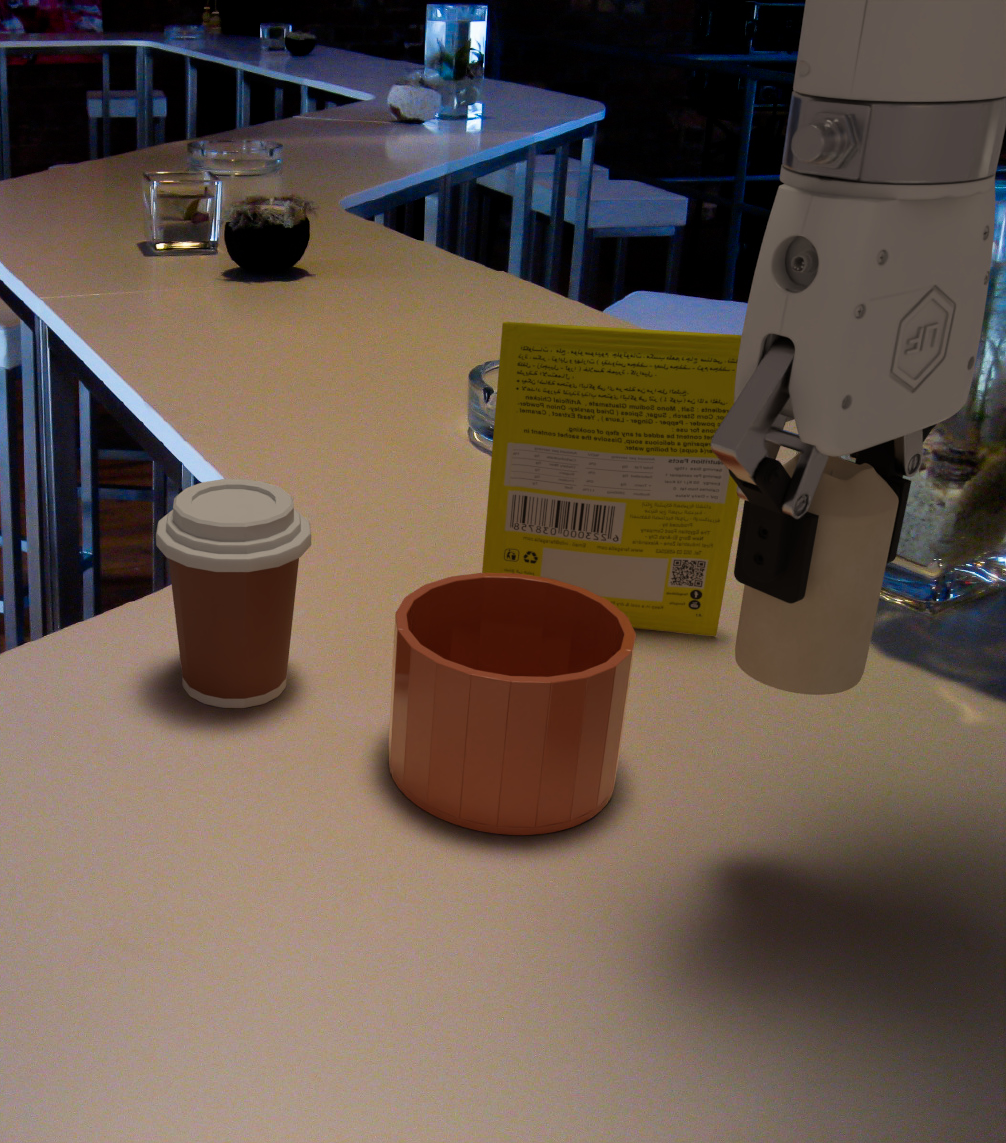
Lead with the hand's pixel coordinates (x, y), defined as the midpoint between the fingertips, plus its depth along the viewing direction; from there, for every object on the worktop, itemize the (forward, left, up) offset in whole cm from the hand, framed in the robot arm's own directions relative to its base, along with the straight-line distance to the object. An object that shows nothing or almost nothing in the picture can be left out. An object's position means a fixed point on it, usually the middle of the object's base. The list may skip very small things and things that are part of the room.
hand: (814, 568), depth 59 cm
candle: (0, 0, -5) cm, 5 cm away
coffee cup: (+11, -29, -16) cm, 35 cm away
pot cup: (+4, -13, -16) cm, 21 cm away
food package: (-13, -22, -16) cm, 30 cm away
